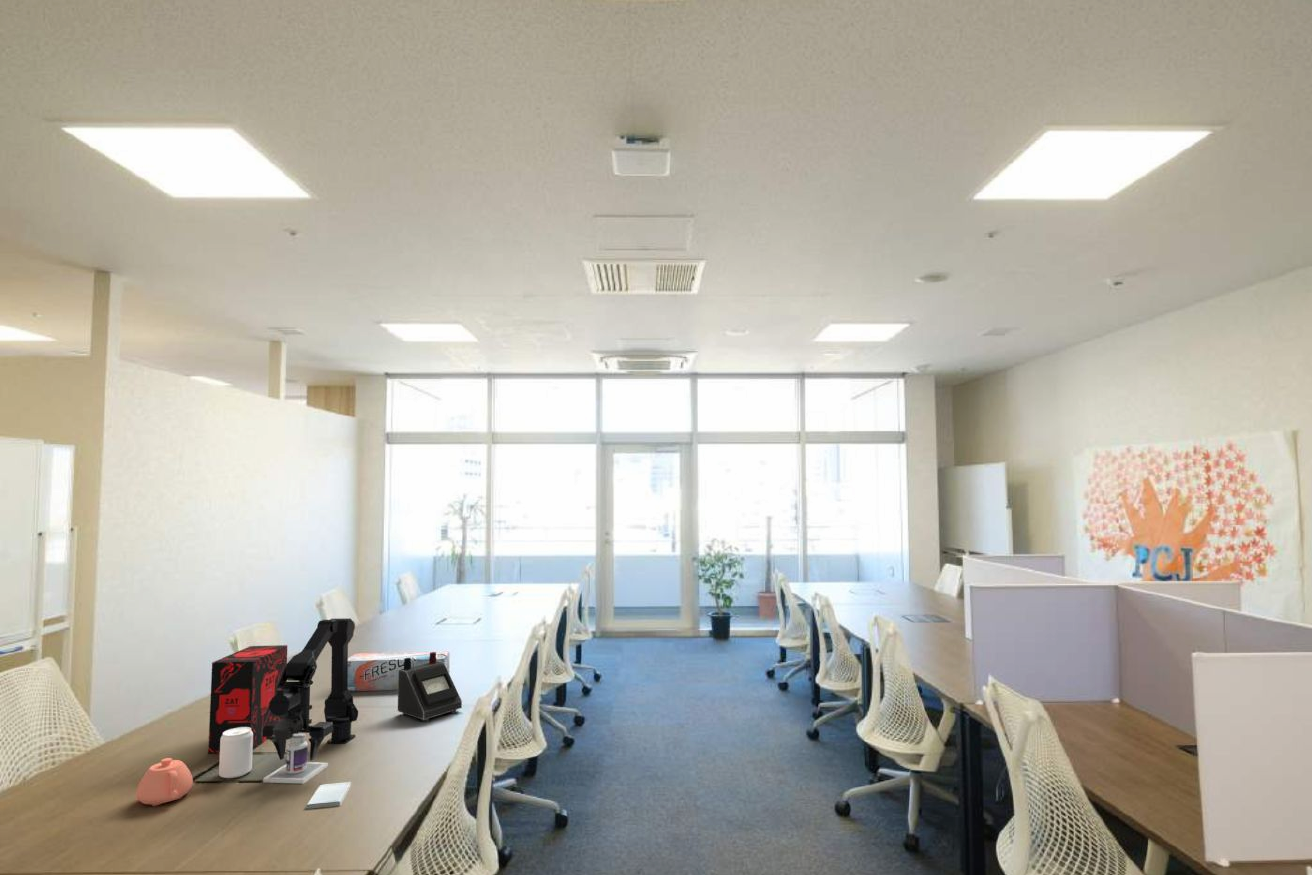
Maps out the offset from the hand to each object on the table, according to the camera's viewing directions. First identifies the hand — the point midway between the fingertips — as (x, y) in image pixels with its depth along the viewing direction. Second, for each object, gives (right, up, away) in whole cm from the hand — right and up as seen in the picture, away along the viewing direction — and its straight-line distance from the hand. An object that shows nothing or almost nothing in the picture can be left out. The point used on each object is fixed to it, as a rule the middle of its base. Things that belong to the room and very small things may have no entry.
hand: (296, 759), depth 196 cm
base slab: (0, -4, 0) cm, 4 cm away
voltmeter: (+21, -8, +53) cm, 57 cm away
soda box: (-5, -12, +89) cm, 90 cm away
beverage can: (-18, -4, 0) cm, 19 cm away
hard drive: (+17, -3, -15) cm, 23 cm away
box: (-31, -7, +27) cm, 42 cm away
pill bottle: (0, -3, 0) cm, 3 cm away
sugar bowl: (-27, -3, -16) cm, 31 cm away
